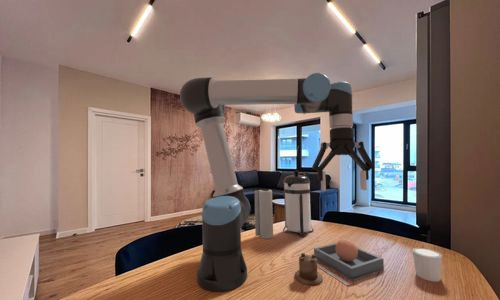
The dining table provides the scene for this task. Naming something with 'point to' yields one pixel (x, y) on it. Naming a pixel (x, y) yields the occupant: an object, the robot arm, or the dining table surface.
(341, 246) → the ball
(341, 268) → the tray
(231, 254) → the robot arm
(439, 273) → the white short cylinder
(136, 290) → the dining table surface
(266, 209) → the gray grooved column
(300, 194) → the coffee press
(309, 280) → the tee
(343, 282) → the line
